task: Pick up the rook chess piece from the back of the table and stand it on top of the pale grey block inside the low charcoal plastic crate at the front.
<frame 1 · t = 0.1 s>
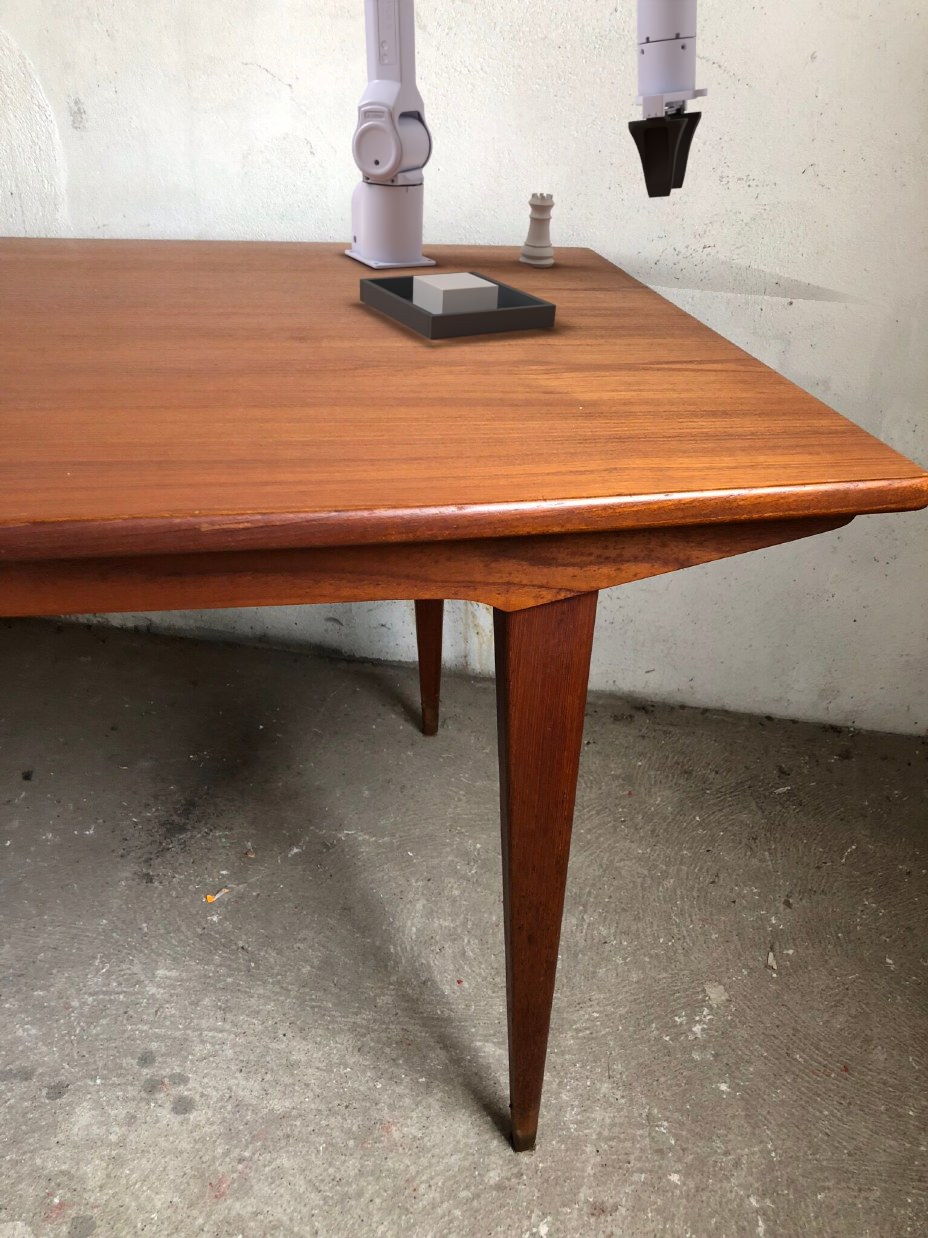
hand: (665, 192, 96), 11 cm above the table, tool pointing down, fingers open, 7 cm apart
rook chess piece: (536, 265, 113), on the table
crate: (453, 318, 89), on the table
grey block: (454, 312, 88), point 1 cm above the table, touching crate
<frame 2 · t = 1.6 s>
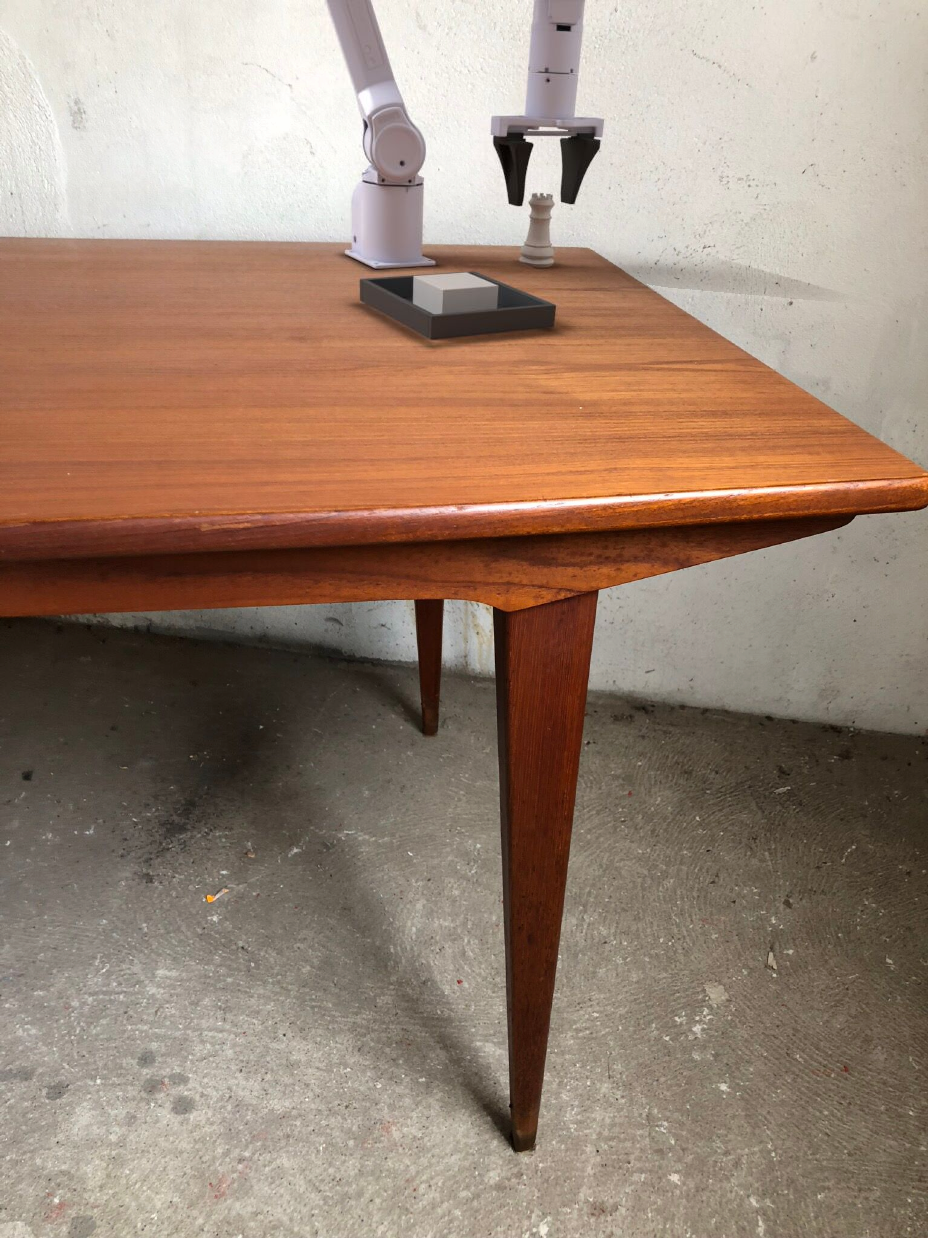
hand: (541, 203, 110), 7 cm above the table, tool pointing down, fingers open, 7 cm apart
nothing on the table moved.
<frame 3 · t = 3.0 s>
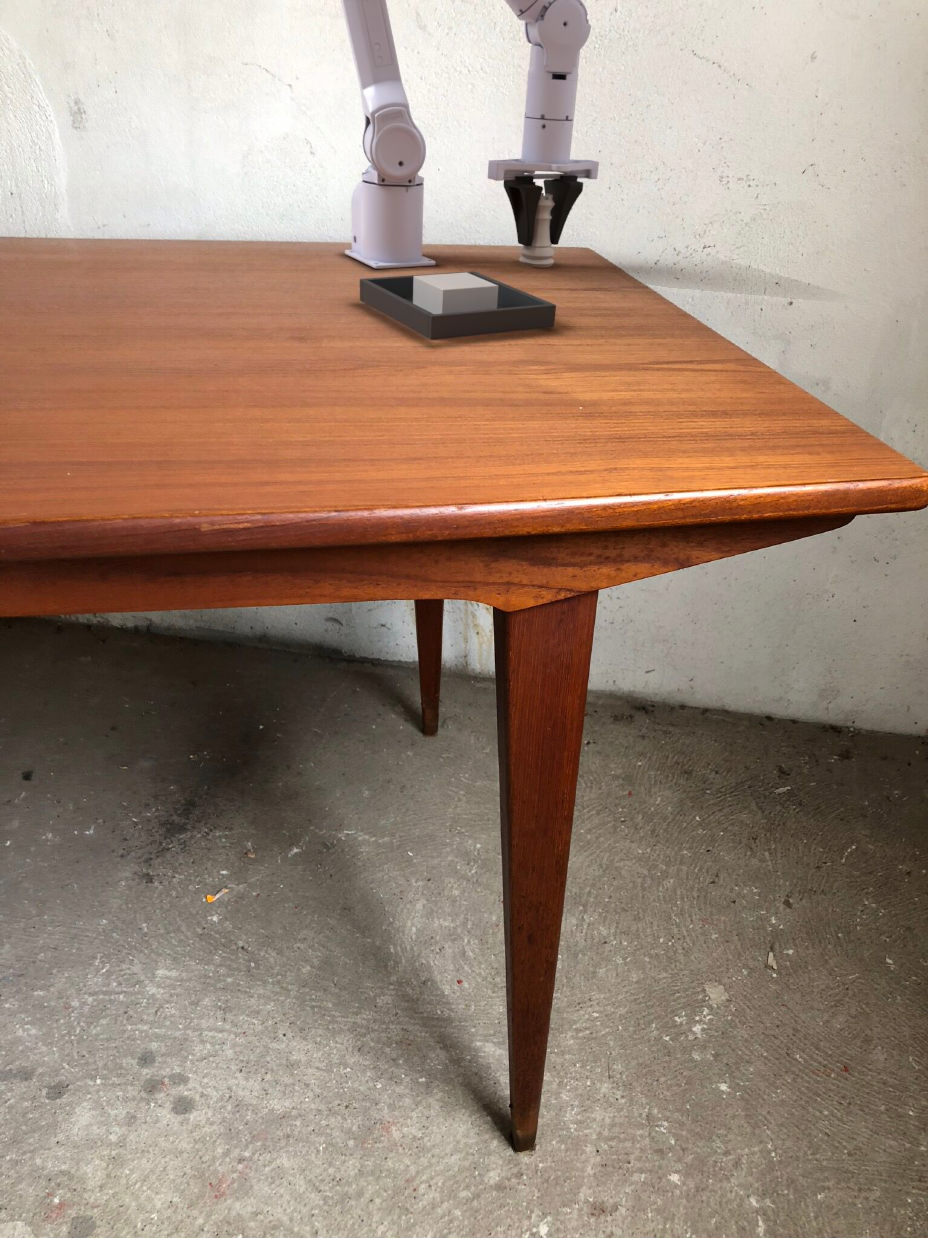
hand: (537, 243, 112), 2 cm above the table, tool pointing down, fingers closed on rook chess piece, 3 cm apart
rook chess piece: (536, 265, 113), on the table, touching gripper
everything else where it was.
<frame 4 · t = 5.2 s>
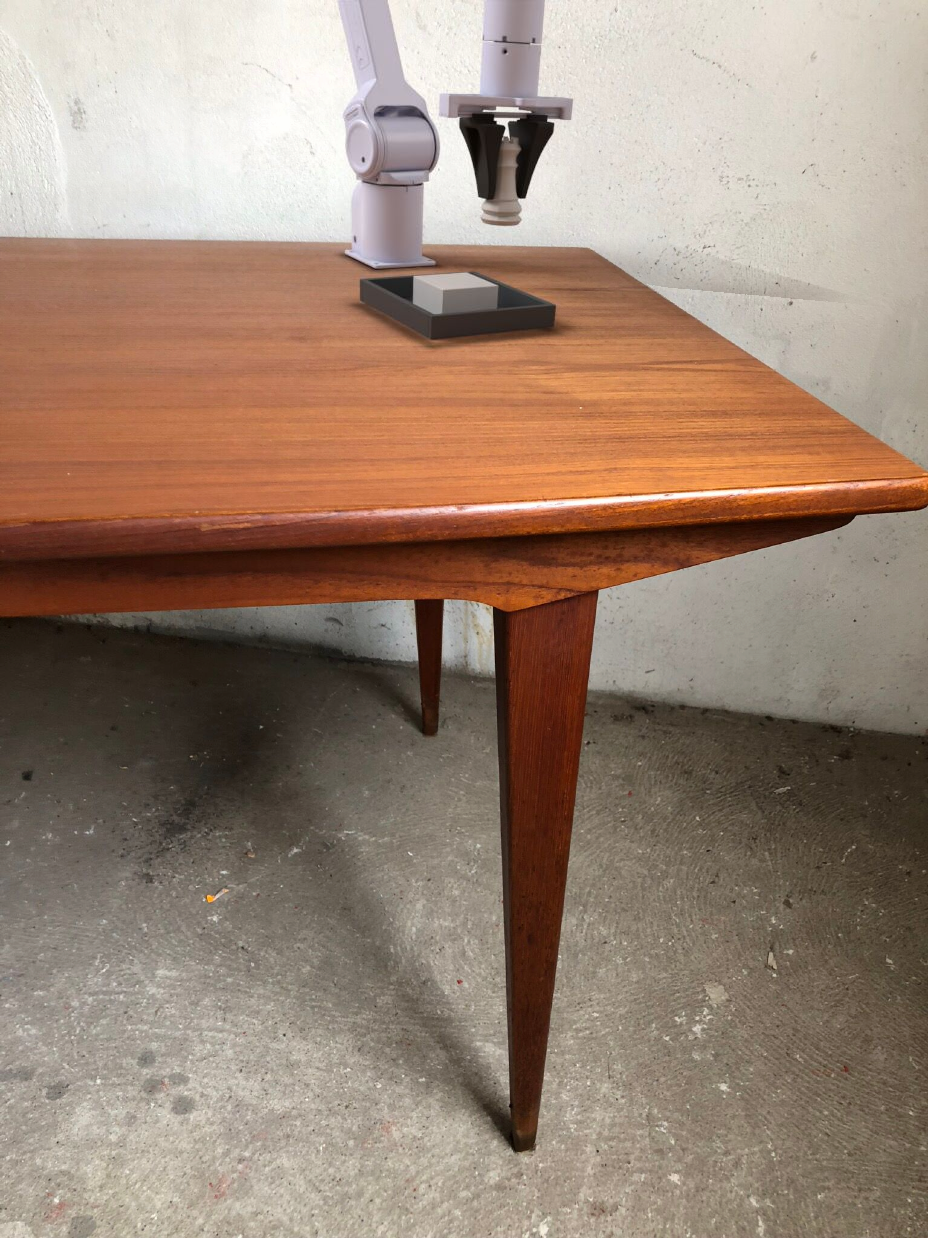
hand: (501, 197, 94), 9 cm above the table, tool pointing down, fingers closed on rook chess piece, 3 cm apart
rook chess piece: (500, 224, 96), point 7 cm above the table, touching gripper
everything else where it was.
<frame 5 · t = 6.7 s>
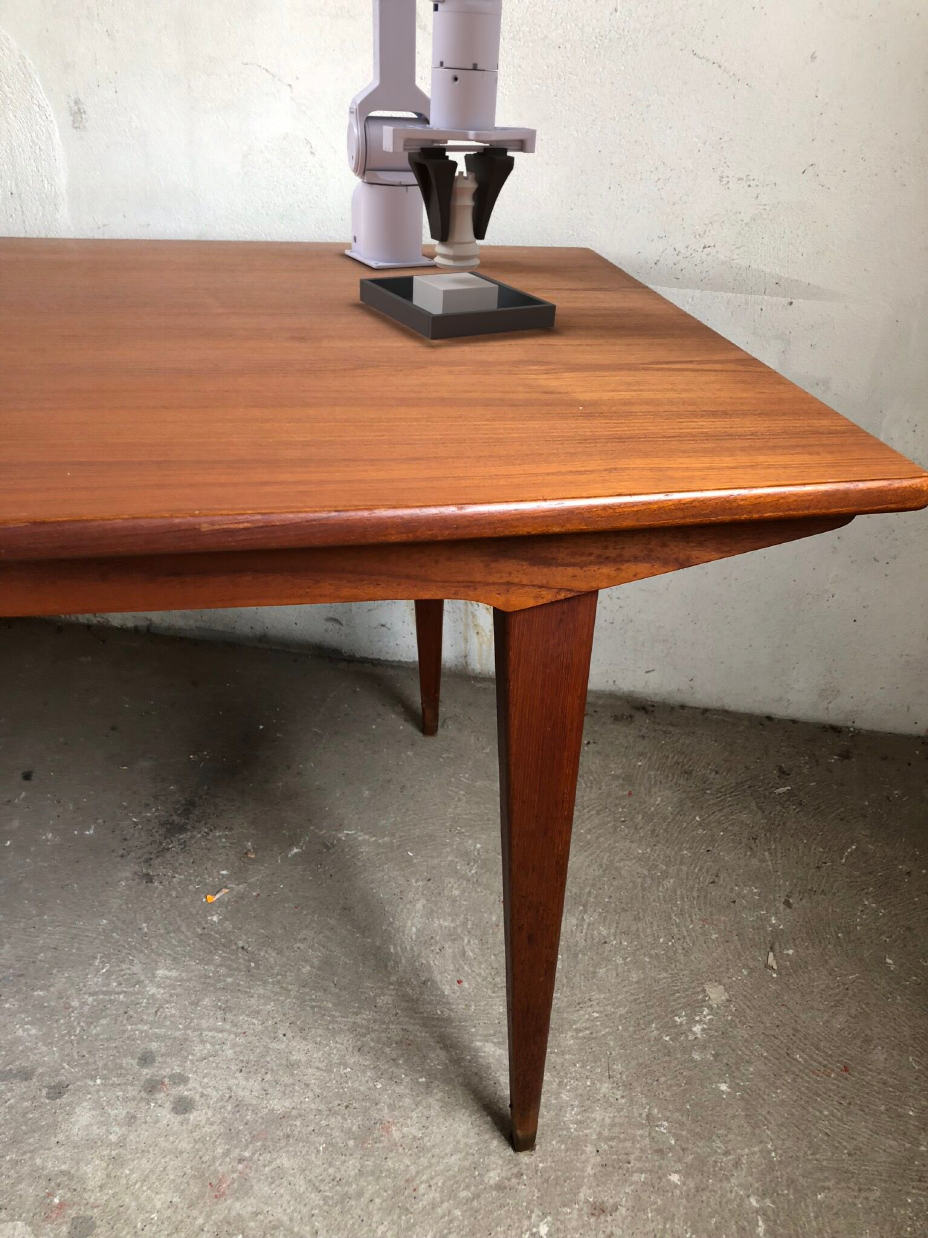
hand: (457, 239, 85), 7 cm above the table, tool pointing down, fingers closed on rook chess piece, 3 cm apart
rook chess piece: (456, 268, 86), point 5 cm above the table, touching gripper
everything else where it was.
when the fingers open (6 cm above the table, at t = 7.5 s): rook chess piece stays where it is, resting on grey block.
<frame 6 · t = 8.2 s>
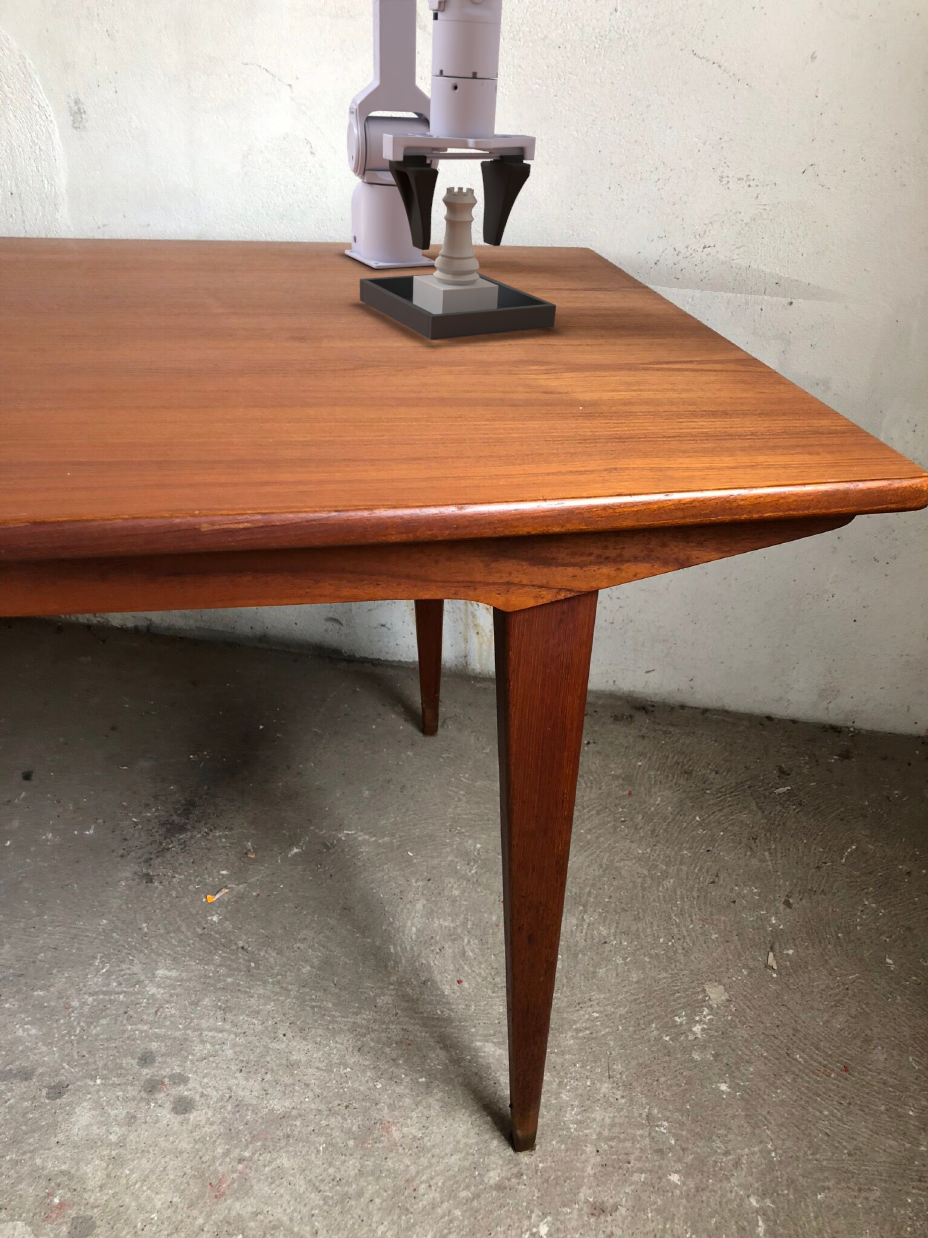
hand: (457, 245, 85), 7 cm above the table, tool pointing down, fingers open, 7 cm apart
rook chess piece: (456, 282, 87), point 3 cm above the table, touching grey block
grey block: (454, 312, 88), point 1 cm above the table, touching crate, rook chess piece
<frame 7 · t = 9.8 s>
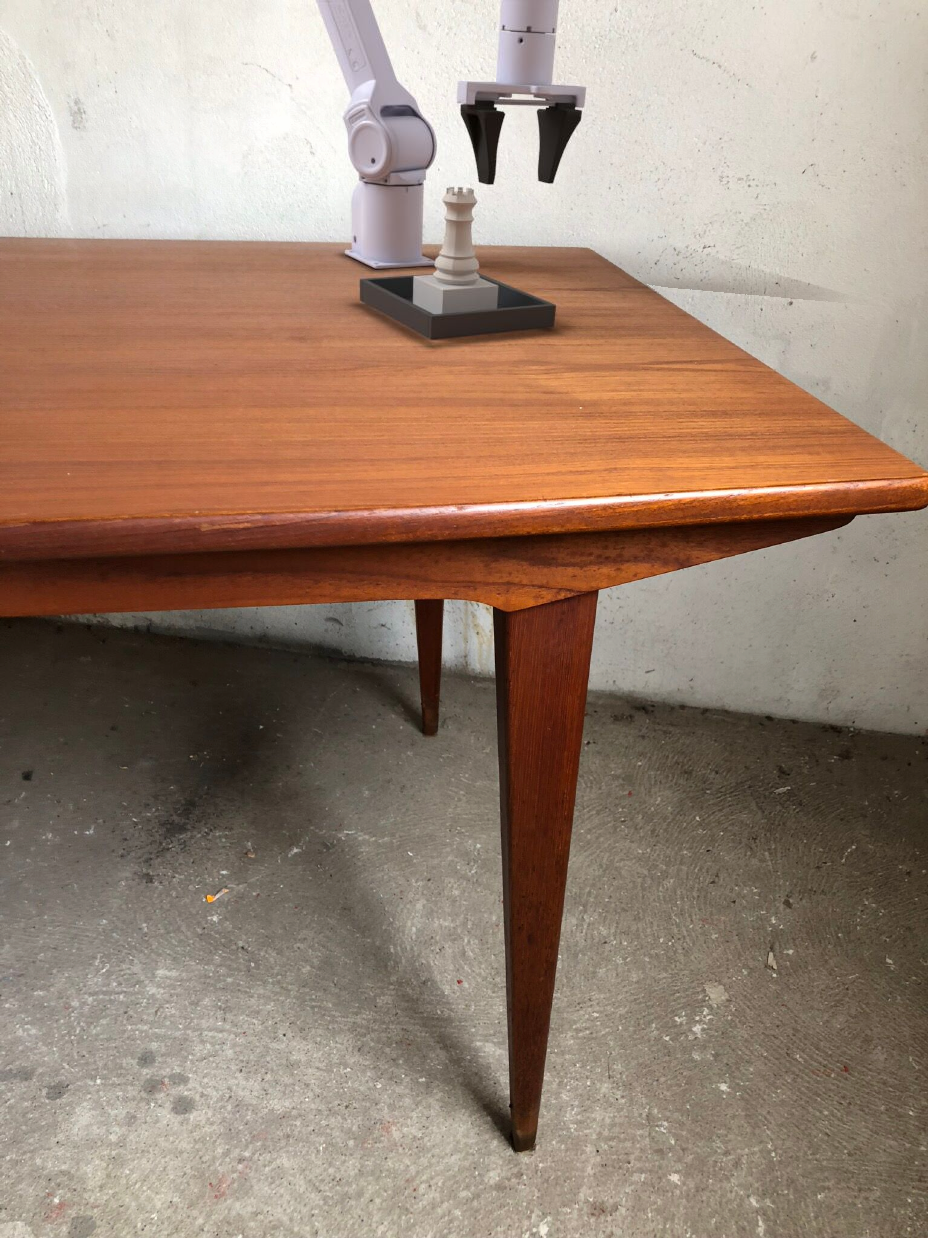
hand: (516, 182, 98), 10 cm above the table, tool pointing down, fingers open, 7 cm apart
nothing on the table moved.
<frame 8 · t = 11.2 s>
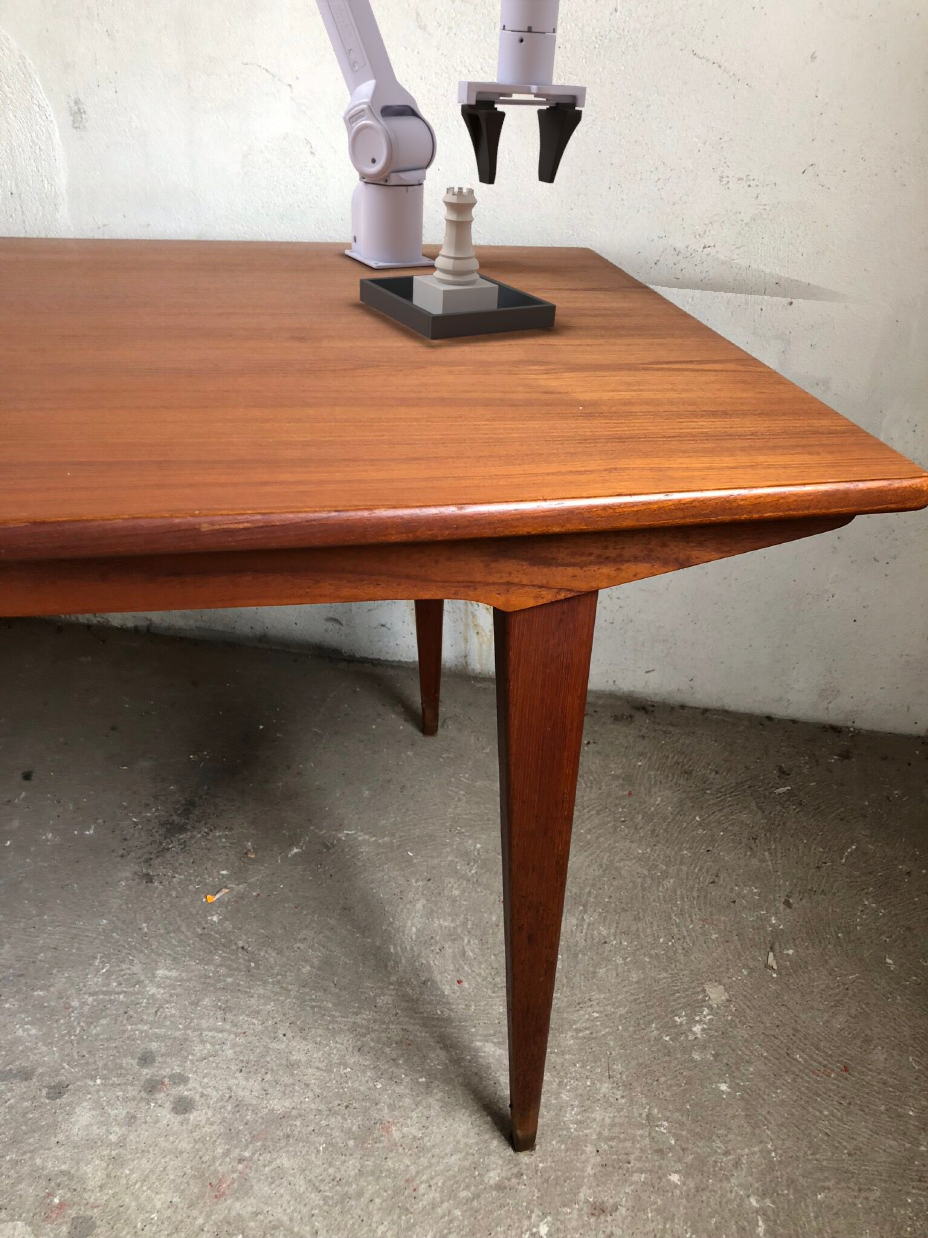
hand: (516, 182, 98), 10 cm above the table, tool pointing down, fingers open, 7 cm apart
nothing on the table moved.
at the end: rook chess piece 0.1 cm off-centre on the grey block, point 2.8 cm above the grey block's base; rook chess piece tilted 0°; grey block inside the target area in the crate (0.0 cm from its centre), point 0.6 cm above the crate's base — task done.
